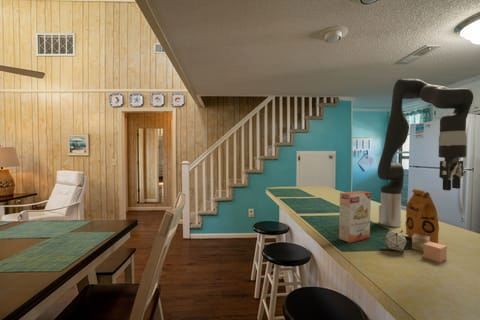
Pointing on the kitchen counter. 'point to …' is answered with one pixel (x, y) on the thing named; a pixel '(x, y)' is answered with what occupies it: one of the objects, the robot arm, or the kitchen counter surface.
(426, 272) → the kitchen counter surface
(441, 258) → the terracotta block
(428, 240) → the birch block
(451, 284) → the kitchen counter surface
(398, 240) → the game die
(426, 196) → the coffee package
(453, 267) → the kitchen counter surface
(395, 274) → the kitchen counter surface
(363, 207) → the cracker box
